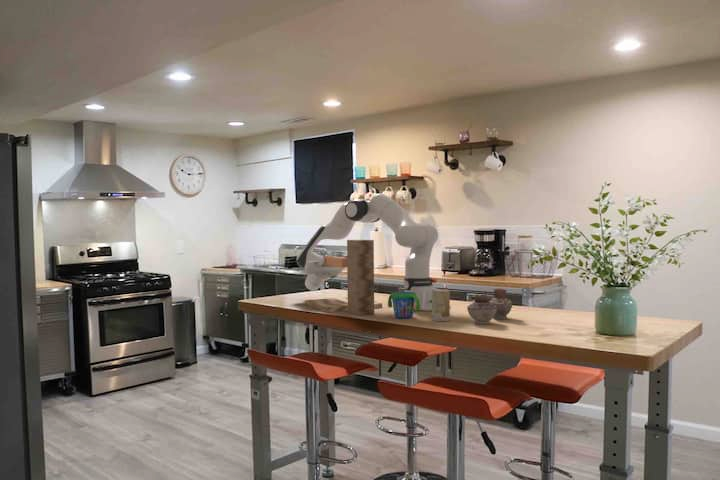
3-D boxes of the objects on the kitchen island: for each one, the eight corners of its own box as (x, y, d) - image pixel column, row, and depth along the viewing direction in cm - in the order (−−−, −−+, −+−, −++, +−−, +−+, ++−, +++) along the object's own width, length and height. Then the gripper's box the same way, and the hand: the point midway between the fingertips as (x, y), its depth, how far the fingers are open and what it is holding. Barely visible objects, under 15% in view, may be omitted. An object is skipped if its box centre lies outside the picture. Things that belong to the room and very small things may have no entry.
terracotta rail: (330, 264, 272) (330, 255, 272) (349, 266, 253) (349, 258, 253) (323, 264, 271) (323, 256, 271) (341, 267, 251) (341, 258, 251)
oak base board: (356, 300, 284) (356, 296, 284) (382, 307, 259) (382, 303, 259) (304, 304, 272) (304, 300, 272) (326, 312, 247) (326, 307, 247)
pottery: (518, 318, 227) (518, 289, 227) (488, 327, 209) (487, 295, 208) (493, 315, 235) (493, 287, 235) (461, 323, 216) (461, 293, 216)
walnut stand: (363, 310, 250) (363, 239, 249) (374, 314, 241) (373, 240, 240) (347, 312, 246) (347, 239, 245) (357, 315, 237) (356, 240, 236)
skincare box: (435, 321, 220) (435, 291, 220) (431, 320, 225) (431, 289, 224) (450, 320, 222) (450, 290, 222) (445, 319, 226) (445, 289, 226)
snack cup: (381, 316, 235) (381, 292, 234) (399, 313, 241) (399, 290, 241) (407, 321, 223) (407, 295, 222) (426, 318, 229) (425, 293, 229)
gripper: (299, 267, 276) (308, 254, 265) (337, 265, 285) (347, 253, 274) (302, 278, 273) (310, 266, 262) (340, 276, 282) (350, 264, 271)
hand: (329, 259), depth 268 cm, fingers closed on terracotta rail, 4 cm apart
